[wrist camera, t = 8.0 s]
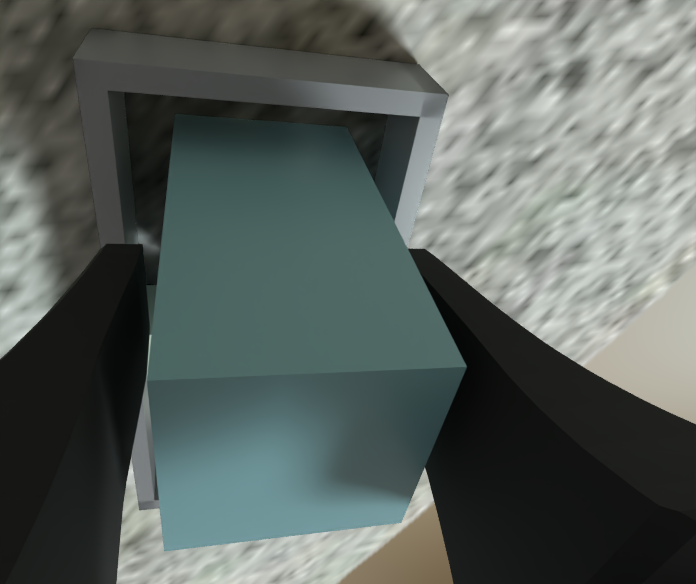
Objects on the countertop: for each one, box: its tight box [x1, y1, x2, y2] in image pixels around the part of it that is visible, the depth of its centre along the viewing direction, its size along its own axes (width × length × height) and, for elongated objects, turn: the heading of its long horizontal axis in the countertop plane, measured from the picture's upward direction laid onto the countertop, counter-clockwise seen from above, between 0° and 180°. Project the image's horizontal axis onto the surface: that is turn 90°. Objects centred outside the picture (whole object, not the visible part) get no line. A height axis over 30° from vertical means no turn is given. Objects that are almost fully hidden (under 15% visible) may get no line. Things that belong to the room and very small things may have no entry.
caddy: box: [73, 28, 449, 510], centre depth 15 cm, size 7×14×2 cm, turn 170°
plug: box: [147, 114, 467, 551], centre depth 11 cm, size 4×4×8 cm
